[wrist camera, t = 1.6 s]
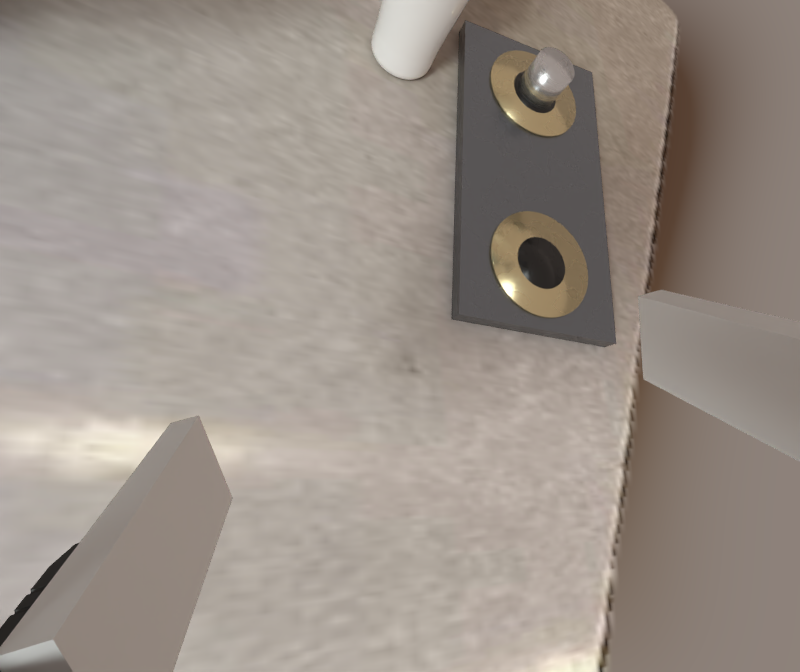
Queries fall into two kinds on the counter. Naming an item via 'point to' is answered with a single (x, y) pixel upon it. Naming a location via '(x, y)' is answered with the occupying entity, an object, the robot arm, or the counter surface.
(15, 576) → the counter surface
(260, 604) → the counter surface
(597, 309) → the bolt plate
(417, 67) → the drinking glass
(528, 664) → the counter surface
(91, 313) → the counter surface
